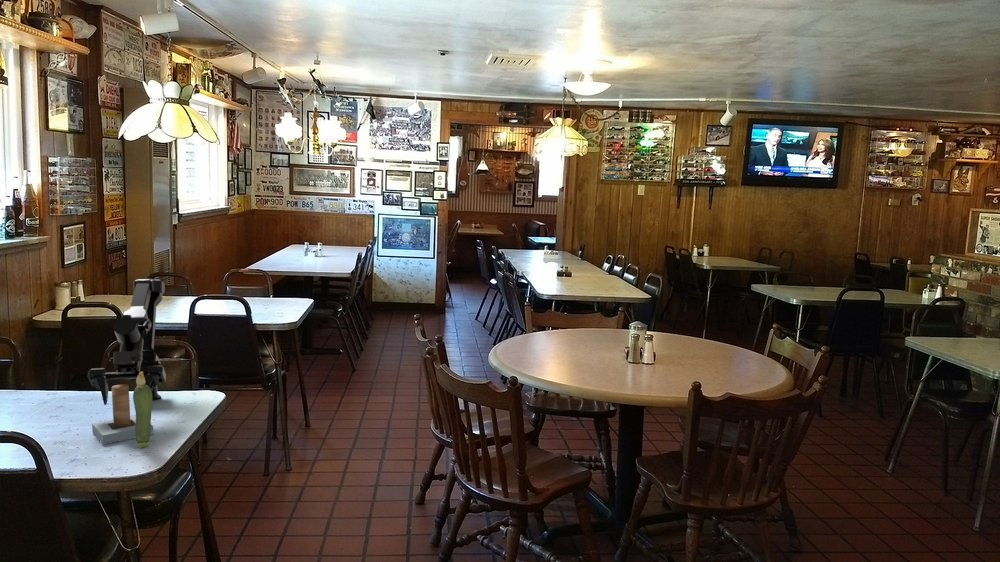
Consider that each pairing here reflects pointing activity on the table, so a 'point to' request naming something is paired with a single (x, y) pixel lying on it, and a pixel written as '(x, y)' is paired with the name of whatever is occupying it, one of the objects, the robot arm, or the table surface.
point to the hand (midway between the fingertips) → (123, 403)
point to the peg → (121, 406)
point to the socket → (114, 431)
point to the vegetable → (142, 411)
